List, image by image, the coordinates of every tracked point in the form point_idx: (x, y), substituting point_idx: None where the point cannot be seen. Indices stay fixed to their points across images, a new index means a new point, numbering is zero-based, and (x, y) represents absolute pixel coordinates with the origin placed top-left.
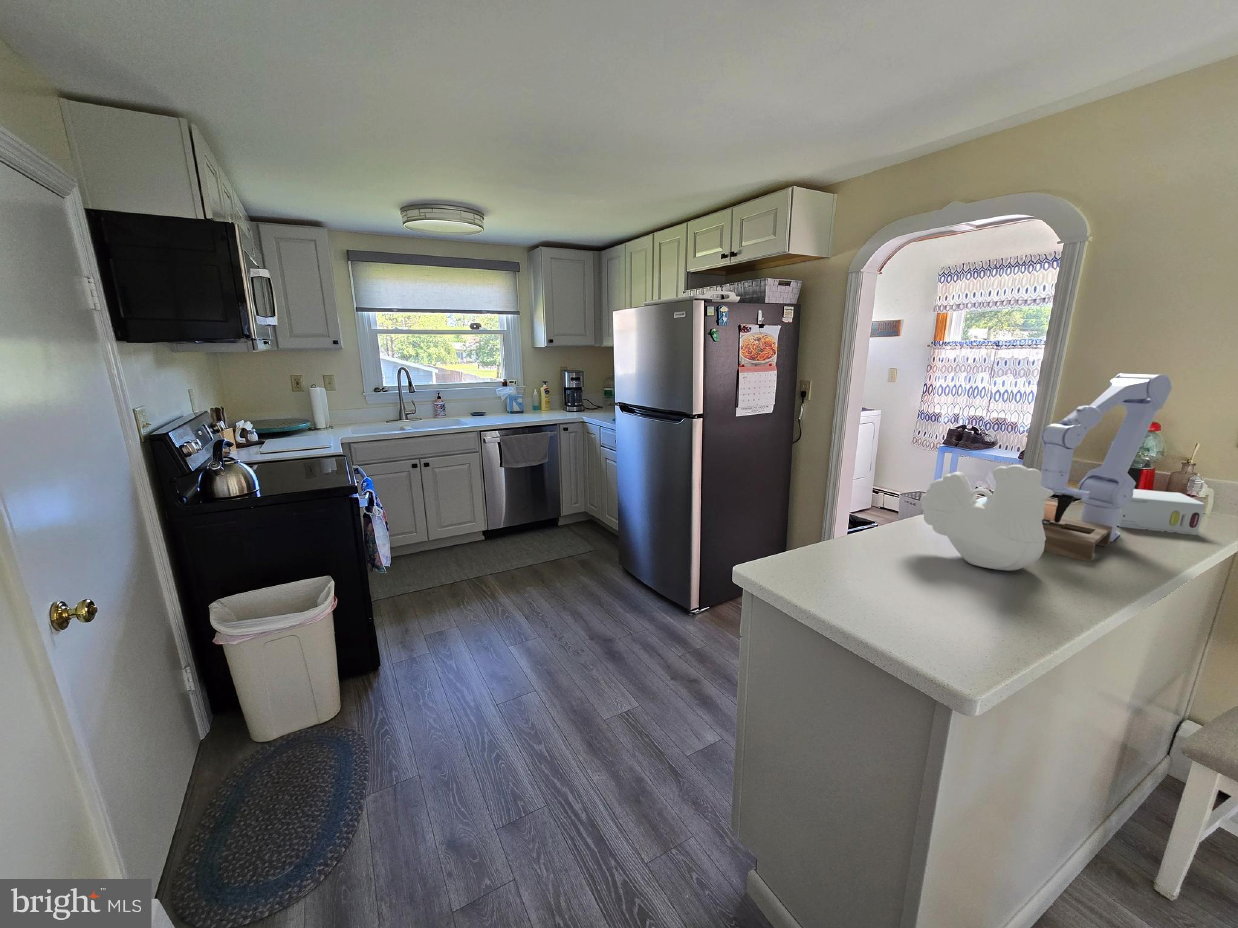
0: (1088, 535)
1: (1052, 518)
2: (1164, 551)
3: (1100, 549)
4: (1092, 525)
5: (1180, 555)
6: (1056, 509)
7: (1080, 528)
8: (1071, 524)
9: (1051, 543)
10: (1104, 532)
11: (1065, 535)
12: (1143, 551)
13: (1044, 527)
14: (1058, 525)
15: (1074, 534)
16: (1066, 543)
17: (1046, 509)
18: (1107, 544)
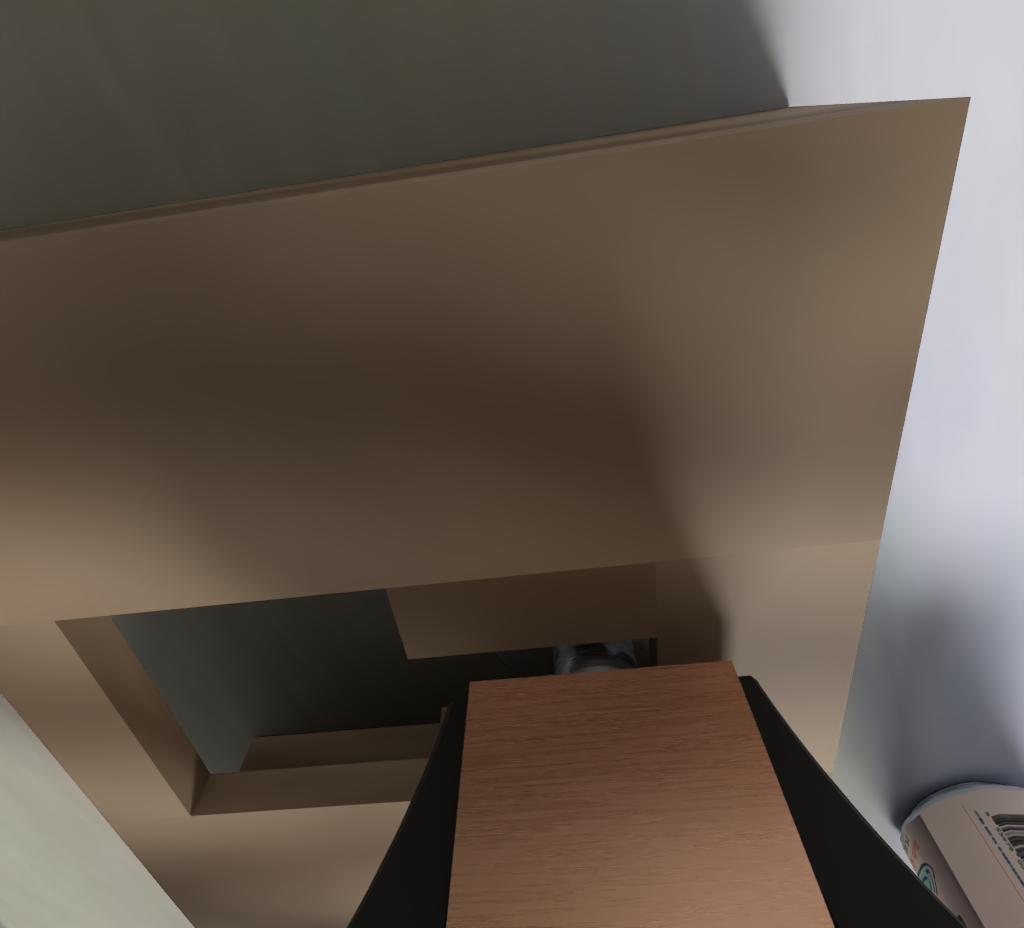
0: (16, 568)
1: (491, 713)
2: (97, 868)
3: (228, 658)
4: (296, 888)
5: (26, 864)
6: (454, 926)
7: (324, 783)
8: (400, 802)
9: (301, 188)
10: (86, 787)
11: (66, 264)
12: None
13: (496, 445)
14: None
15: (84, 456)
16: (105, 222)
17: (615, 860)
18: (248, 756)
